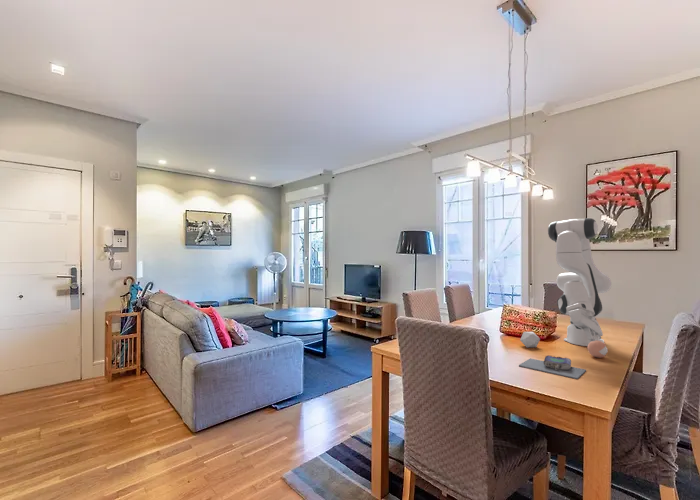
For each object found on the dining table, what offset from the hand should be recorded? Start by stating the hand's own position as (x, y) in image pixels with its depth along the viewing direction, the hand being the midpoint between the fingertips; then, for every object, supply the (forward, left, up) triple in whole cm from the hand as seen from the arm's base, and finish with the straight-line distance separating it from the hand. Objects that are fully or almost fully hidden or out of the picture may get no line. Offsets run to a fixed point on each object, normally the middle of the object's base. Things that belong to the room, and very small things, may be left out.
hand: (591, 340), depth 149 cm
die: (-14, -30, -12) cm, 35 cm away
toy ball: (-17, -1, -12) cm, 21 cm away
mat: (+16, -11, -11) cm, 23 cm away
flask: (+8, -11, -9) cm, 17 cm away
